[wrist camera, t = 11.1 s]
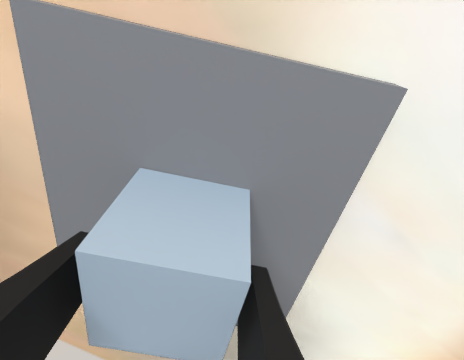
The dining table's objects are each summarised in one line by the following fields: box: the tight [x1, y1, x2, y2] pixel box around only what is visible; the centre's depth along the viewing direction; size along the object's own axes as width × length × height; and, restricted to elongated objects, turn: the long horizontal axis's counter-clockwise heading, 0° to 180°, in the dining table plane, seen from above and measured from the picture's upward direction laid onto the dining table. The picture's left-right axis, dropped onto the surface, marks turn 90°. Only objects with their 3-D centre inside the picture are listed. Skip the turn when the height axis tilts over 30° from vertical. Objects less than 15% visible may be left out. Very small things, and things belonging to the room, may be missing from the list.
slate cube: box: [75, 168, 251, 360], centre depth 11 cm, size 5×5×5 cm
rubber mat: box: [9, 0, 408, 326], centre depth 13 cm, size 14×16×1 cm
